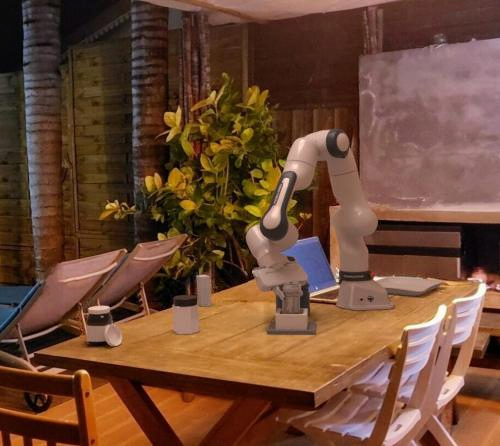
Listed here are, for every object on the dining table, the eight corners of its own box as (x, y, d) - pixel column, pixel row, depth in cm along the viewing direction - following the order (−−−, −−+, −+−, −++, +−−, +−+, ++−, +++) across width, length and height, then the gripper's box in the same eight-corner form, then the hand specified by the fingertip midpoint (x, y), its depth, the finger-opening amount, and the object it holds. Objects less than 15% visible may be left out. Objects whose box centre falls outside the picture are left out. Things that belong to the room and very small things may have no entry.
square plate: (387, 283, 329) (387, 275, 328) (445, 289, 313) (445, 280, 312) (361, 293, 307) (361, 284, 307) (421, 299, 291) (421, 290, 291)
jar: (202, 332, 241) (201, 298, 240) (179, 335, 238) (178, 300, 237) (192, 327, 249) (191, 293, 248) (170, 330, 246) (169, 296, 245)
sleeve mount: (316, 324, 249) (316, 307, 248) (315, 334, 235) (314, 316, 235) (270, 324, 251) (270, 307, 250) (266, 334, 237) (266, 316, 237)
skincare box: (211, 306, 285) (211, 276, 284) (201, 307, 284) (200, 277, 282) (207, 303, 291) (206, 274, 290) (196, 304, 289) (196, 275, 288)
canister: (317, 315, 264) (317, 268, 263) (295, 321, 255) (294, 272, 253) (290, 310, 273) (290, 265, 271) (268, 316, 264) (267, 269, 262)
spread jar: (92, 339, 236) (91, 304, 235) (126, 339, 235) (125, 304, 234) (83, 349, 224) (81, 312, 223) (118, 348, 223) (117, 312, 222)
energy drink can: (300, 323, 246) (300, 281, 244) (298, 328, 240) (299, 284, 238) (283, 322, 247) (283, 280, 245) (281, 327, 241) (281, 283, 239)
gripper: (254, 262, 240) (273, 295, 233) (299, 256, 253) (318, 287, 246) (246, 274, 244) (264, 306, 237) (291, 267, 256) (309, 298, 250)
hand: (292, 297), depth 242 cm, fingers closed on energy drink can, 6 cm apart
